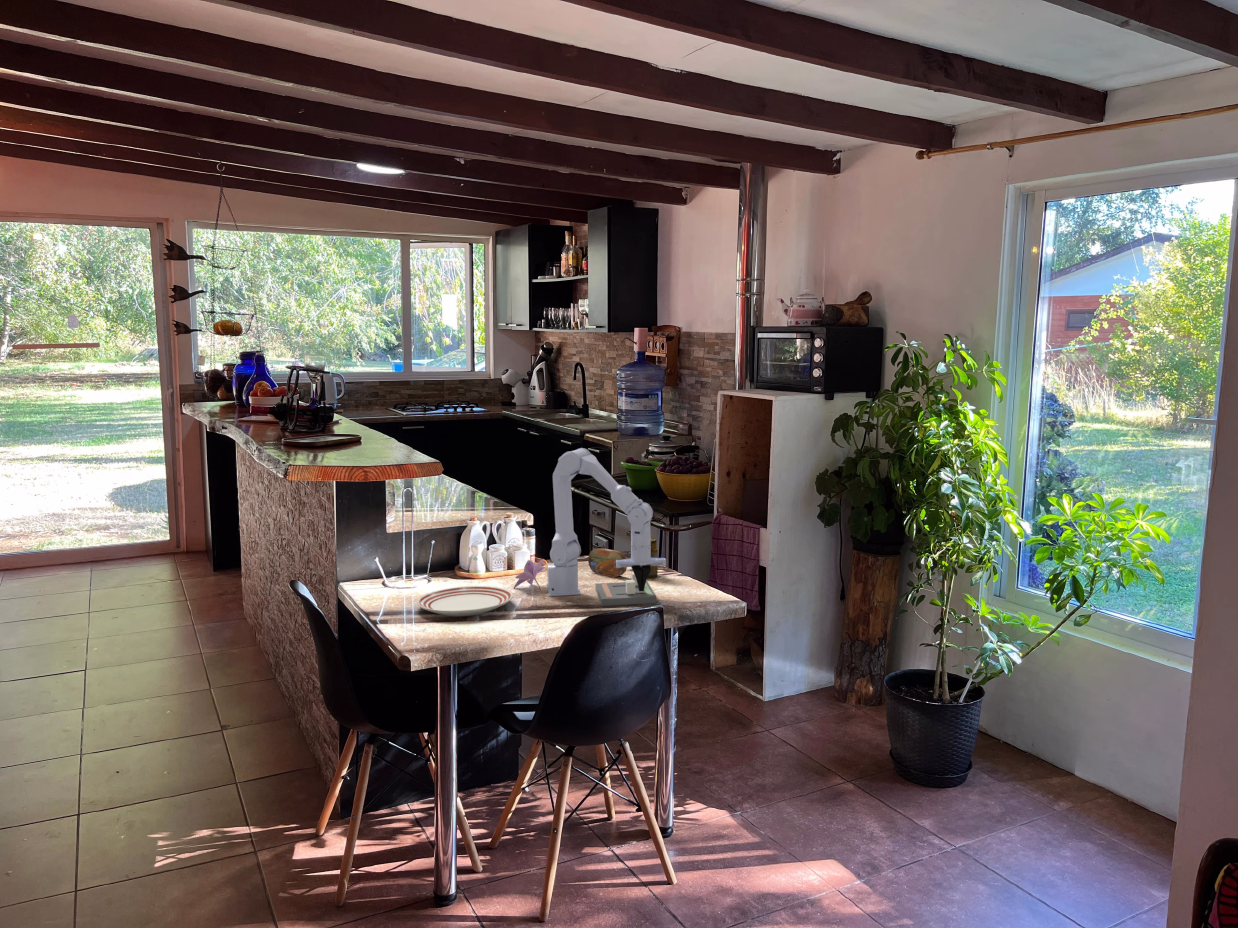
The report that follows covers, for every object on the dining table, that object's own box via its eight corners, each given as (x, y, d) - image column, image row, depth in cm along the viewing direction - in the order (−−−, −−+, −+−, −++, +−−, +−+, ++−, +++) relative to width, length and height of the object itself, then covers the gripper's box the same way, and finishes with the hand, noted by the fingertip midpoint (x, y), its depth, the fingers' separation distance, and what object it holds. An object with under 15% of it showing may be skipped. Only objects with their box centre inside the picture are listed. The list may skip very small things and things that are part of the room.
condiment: (649, 572, 304) (649, 536, 302) (667, 577, 297) (666, 540, 296) (632, 575, 299) (632, 539, 298) (650, 581, 293) (649, 544, 291)
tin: (587, 571, 305) (587, 547, 304) (594, 570, 308) (593, 545, 306) (622, 579, 296) (622, 553, 294) (628, 577, 298) (628, 551, 297)
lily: (552, 585, 293) (539, 558, 294) (559, 580, 282) (546, 551, 283) (518, 601, 289) (505, 574, 290) (524, 596, 278) (510, 568, 279)
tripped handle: (627, 594, 270) (627, 582, 269) (625, 591, 273) (625, 580, 272) (635, 593, 270) (635, 582, 269) (633, 591, 273) (633, 579, 272)
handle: (632, 585, 279) (632, 574, 278) (631, 583, 282) (631, 571, 281) (640, 585, 279) (640, 574, 279) (639, 582, 282) (639, 571, 282)
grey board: (601, 605, 266) (601, 598, 266) (595, 589, 283) (595, 583, 283) (656, 602, 269) (656, 595, 268) (647, 587, 285) (647, 580, 285)
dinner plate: (400, 606, 269) (399, 595, 269) (481, 589, 287) (480, 578, 286) (447, 628, 248) (447, 616, 248) (531, 608, 266) (531, 597, 265)
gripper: (617, 549, 265) (618, 595, 267) (667, 547, 267) (668, 592, 269) (614, 543, 272) (615, 588, 274) (663, 541, 274) (663, 586, 276)
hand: (641, 590), depth 272 cm, fingers closed
